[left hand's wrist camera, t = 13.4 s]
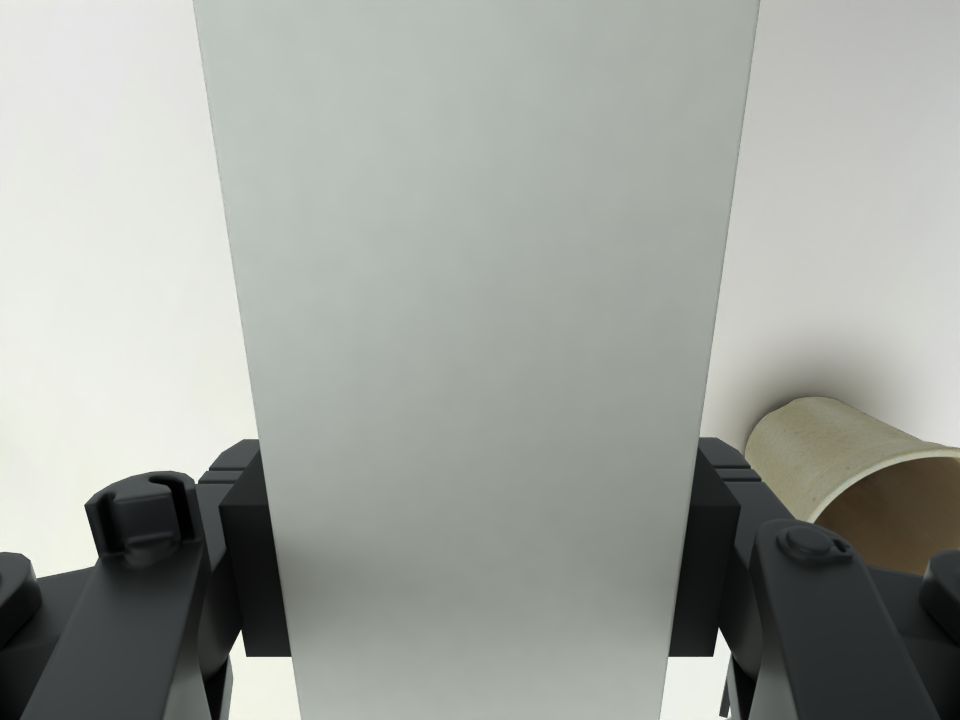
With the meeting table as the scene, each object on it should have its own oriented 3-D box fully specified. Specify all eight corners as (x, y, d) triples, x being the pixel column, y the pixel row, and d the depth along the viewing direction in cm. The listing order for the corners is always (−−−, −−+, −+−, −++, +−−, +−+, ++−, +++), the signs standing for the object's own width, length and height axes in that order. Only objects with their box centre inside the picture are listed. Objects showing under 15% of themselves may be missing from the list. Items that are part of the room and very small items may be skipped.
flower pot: (717, 534, 33) (795, 662, 25) (703, 386, 30) (787, 476, 21) (887, 504, 32) (1025, 624, 24) (891, 348, 29) (1052, 427, 21)
